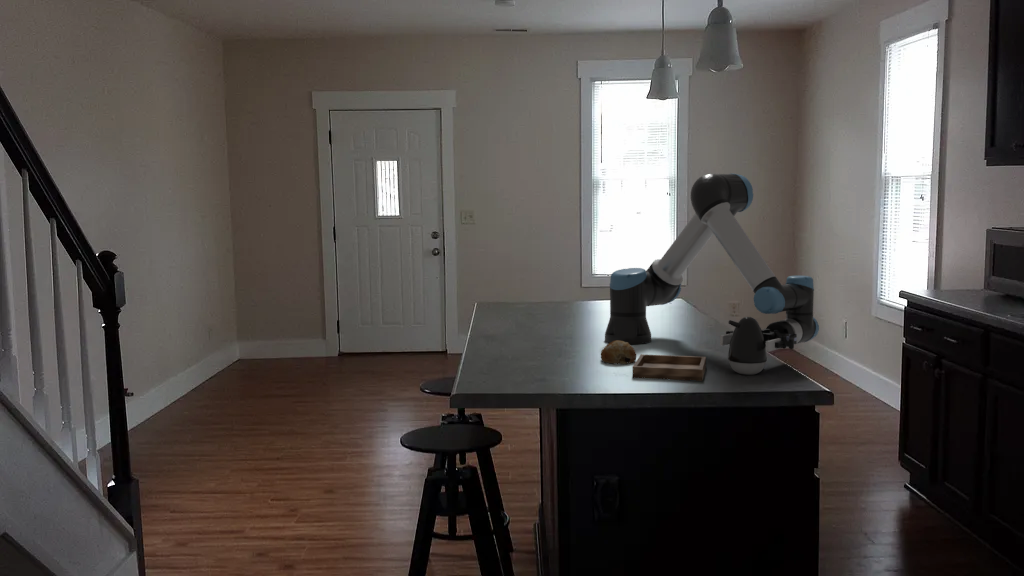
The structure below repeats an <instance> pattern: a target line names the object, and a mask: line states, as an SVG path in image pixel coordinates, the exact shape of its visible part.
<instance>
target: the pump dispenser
mask: <svg viewBox="0 0 1024 576" xmlns="http://www.w3.org/2000/svg"><path fill="white" fill-rule="evenodd" d="M727 322H728V324H729V325H731V326H732V327H734V329H733V330H732V331H733V334H732V337H731V340H730V344H728V345H729V346H728V351H727V360H728V361H729V365H730V367H731V368H732V370H733V371H734V372H736V373H738V374H739V375H747V376H749V375H750V376H751V375H752V376H753V375H757V374H759V373H760V372H762V370H764V368H765V365H766V362H768V352H766V343H765V339H764V336H763V333H762V330H763V329H762V327H761V326H760V324H759V322H758V321H757V319H755V318H754V317H751V316H744V317H742V318H740V319H739V321H738V322H737V321H735V320H730V319H729V320H728V321H727Z"/></svg>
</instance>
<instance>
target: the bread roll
mask: <svg viewBox="0 0 1024 576" xmlns="http://www.w3.org/2000/svg"><path fill="white" fill-rule="evenodd" d="M600 358H601V361H602V362H603V363H605V364H610V365H620V366H622V365H627V364H633V363H634V364H635V362H636V361H637V353H636V351H635V349H634V347H633V346H632V345H631V344H629V343H628V342H624V341H620V340H616V341H613V342H611V343H610V342H608V344H606V346H604V347H603V349H602V350H601V352H600Z"/></svg>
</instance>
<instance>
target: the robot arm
mask: <svg viewBox="0 0 1024 576" xmlns="http://www.w3.org/2000/svg"><path fill="white" fill-rule="evenodd" d="M753 200H754V189H753V186H752V182H751V181H750V180H749V179H748V178H747V177H746V176H745V175H741V174H737V173H731V172H730V173H709V174H707V173H706V174H704V175H702V176H700V177H699V178H697V179H696V181H695V182H694V183H693V185H692V186H691V191H690V202H691V206H692V208H693V211H694V215H692V217H691V218H690V220H689V221H688V223H687V224H686V225H685V226H684V228H683V229H682V230H681V232H680V233H679V234H678V236H677V237H676V239H675V240H674V241H673V242H672V244H671V245H670V246H669V248H668V249H667V250H666V252H665V253H664V255H663V256H662V257H661V259H660V258H659V259H655V260H653V262H652V263H651V264H650V265H649V267H648V268H647V269H644V268H641V267H628V268H621V269H618V270H615V271H613V272H612V273H611V274H610V278H609V279H610V280H609V281H610V283H609V313H610V314H609V315H610V317H609V320H608V323H607V327H606V330H605V332H604V341H605V342H606V343H607V342H608V343H611V342H613V341H616V340H620V341H624V342H628V343H629V344H630V345H641V344H647V343H650V342H652V331H651V329H650V327H649V323H648V319H647V307H654V306H663V305H666V304H669V303H672V302H673V301H675V300H676V299H677V298H678V297H679V295H680V294H681V291H682V287H681V286H682V283H683V279H684V278H683V275H684V273H685V272H686V270H687V269H688V268H689V266H690V265H691V264H692V262H693V261H695V259H696V258H697V256H698V255H699V254H700V253H701V251H702V250H703V249H704V248H705V247H706V245H707V244H708V242H709V241H710V239H711V238H712V237H713V236H715V238H716V239H717V240H718V243H720V245H721V247H722V248H723V250H724V251H725V252H726V254H727V256H728V257H729V258H730V260H731V261H732V262H733V264H734V265H735V267H736V269H737V270H738V271H739V273H740V274H741V276H742V277H743V279H744V280H745V282H746V283H747V284H748V286H749V287H750V289H751V290H752V292H753V294H754V296H753V303H754V307H755V309H756V310H757V311H759V312H760V313H762V314H765V315H769V314H771V315H775V314H778V313H782V312H785V315H786V316H785V319H782V320H781V319H780V320H778V321H774V322H771V323H769V324H768V325H767V326H766V328H764V329H761V330H762V333H763V336H764V339H765V344H766V352H767V353H769V352H773V351H777V350H780V349H787V348H788V349H790V350H794V348H795V345H796V344H797V345H798V344H802V343H807V342H809V341H811V340H813V339H815V338H816V336H818V333H819V331H820V325H819V323H818V321H817V319H816V318H815V317H814V299H815V298H814V296H815V293H814V291H815V287H814V279H813V277H811V276H810V275H789V276H787V278H786V281H785V284H782V283H781V281H779V279H778V277H776V275H775V273H774V271H773V270H772V269H771V268H770V267H769V265H768V264H767V262H766V260H765V259H764V258H763V256H762V255H761V253H760V252H759V250H758V249H757V247H756V246H755V244H754V243H753V242H752V240H751V239H750V237H749V236H748V234H747V233H746V232H745V230H744V229H743V228H742V226H741V224H740V223H739V222H738V220H737V218H736V217H735V215H736V214H737V213H742V212H744V211H746V210H747V209H748V208H749V207H750V206H751V205H752V203H753ZM733 331H734V330H727V331H726V332H725V334H721V335H719V336H720V337H719V338H720V339H719V340H720V342H719V344H720V345H719V346H720V347H721V346H723V347H724V346H727V345H730V340H731V337H732V334H733Z"/></svg>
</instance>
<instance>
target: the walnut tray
mask: <svg viewBox="0 0 1024 576" xmlns="http://www.w3.org/2000/svg"><path fill="white" fill-rule="evenodd" d="M706 368H707V356H699V355H698V356H694V355H673V354H672V355H671V354H669V355H668V354H667V355H666V354H642V353H641V354H640V355H639V356H638V358H636V360H635V362H634V364H633V365H632V379H645V380H653V379H654V380H668V379H670V380H671V381H672V380H674V381H690V380H696V381H695V382H703V379H704V376H705V373H706Z"/></svg>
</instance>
